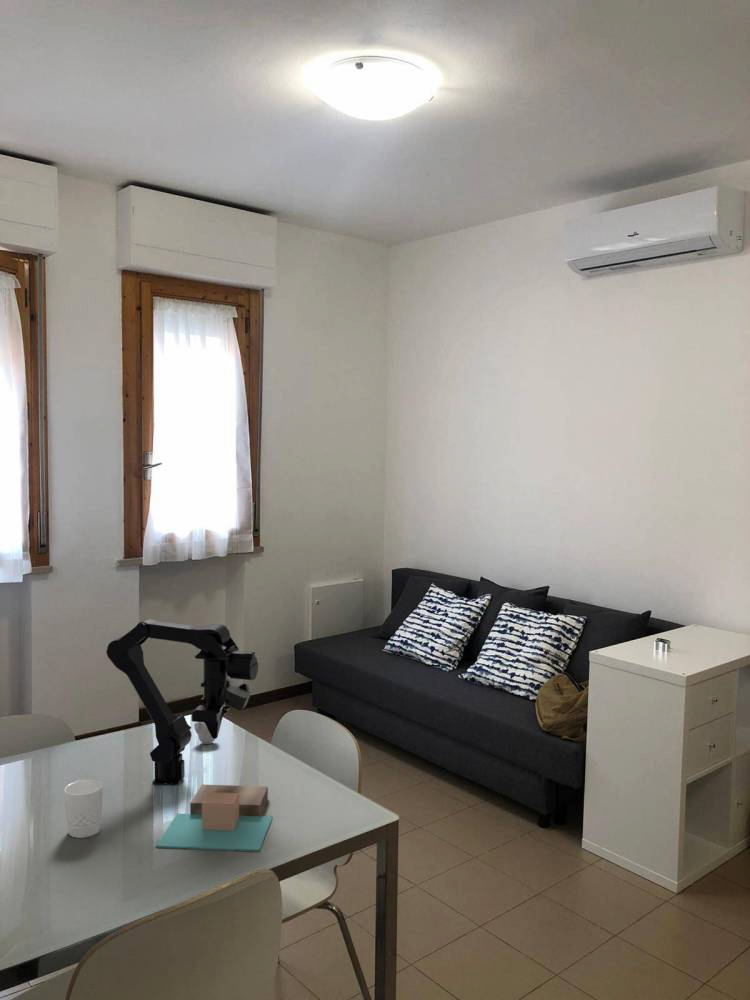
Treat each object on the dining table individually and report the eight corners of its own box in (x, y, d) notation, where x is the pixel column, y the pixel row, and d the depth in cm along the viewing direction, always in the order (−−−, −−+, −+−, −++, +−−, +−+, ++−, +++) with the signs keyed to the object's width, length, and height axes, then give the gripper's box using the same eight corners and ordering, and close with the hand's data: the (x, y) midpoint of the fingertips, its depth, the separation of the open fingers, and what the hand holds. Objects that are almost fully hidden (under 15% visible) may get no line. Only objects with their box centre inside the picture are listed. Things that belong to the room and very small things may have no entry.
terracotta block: (208, 817, 188) (202, 829, 183) (208, 792, 188) (201, 802, 182) (239, 818, 188) (233, 830, 182) (238, 793, 187) (233, 803, 182)
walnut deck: (190, 815, 190) (190, 802, 190) (202, 796, 200) (201, 784, 200) (259, 818, 189) (259, 805, 189) (267, 798, 199) (267, 786, 199)
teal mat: (156, 847, 175) (156, 845, 175) (177, 815, 190) (177, 813, 190) (259, 851, 174) (259, 849, 174) (272, 818, 189) (272, 816, 189)
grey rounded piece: (197, 738, 238) (197, 715, 237) (221, 740, 237) (221, 716, 237) (191, 746, 232) (190, 722, 231) (215, 748, 231) (215, 723, 231)
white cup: (110, 825, 185) (110, 782, 184) (87, 842, 177) (86, 797, 177) (81, 820, 187) (80, 777, 187) (57, 836, 180) (56, 791, 179)
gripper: (236, 689, 195) (236, 754, 196) (256, 667, 213) (256, 726, 214) (190, 687, 196) (190, 751, 197) (214, 665, 214) (214, 724, 216)
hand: (215, 738), depth 206 cm, fingers closed
